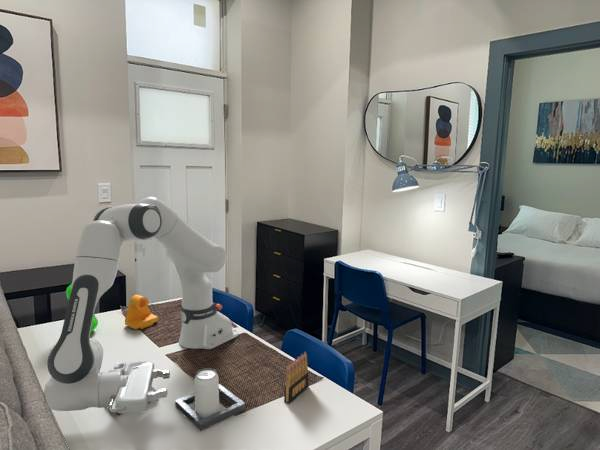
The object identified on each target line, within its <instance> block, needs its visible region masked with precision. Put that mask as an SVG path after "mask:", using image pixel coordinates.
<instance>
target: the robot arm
mask: <svg viewBox="0 0 600 450" xmlns="http://www.w3.org/2000/svg"><path fill="white" fill-rule="evenodd" d="M151 238H153V239H154V240H155V241H156V242H157V243H158V244H159V245H161V246H162V247H163V248H164V249H165V250H166V251H165V253H166V254H165V255H166V258H167V259H168V261H169V262H170V263H171V264H172V266H173V268H174V270H175V272H176V274H177V277H178V281H179V284H180V290H181V292H180V293H181V306H180V307H181V308H180V317H181V329H180V335H179V339H178V343H179V346H181V347H184V348H187V349H205V350H211V349H214V348H216V347H218V346H220V345H222V344H224V343H226V342H229V341H231V340H232V339H234V338H237V337H238V336H239V331H238V330H237V329H236V328H235V327H234V326H233V324H232V320H231V319H230V318H229V317H227V316H226V315H224V314H223V313H221V312H220V311H221V310H222V309H223V305H222V304H220V303H215V302H213V285H212V282H211V280H210V279H209V278H208V276H207V275H206V274H205V273H218V272H221V270H222V269H223V268H224V267H225V265H226V263H227V252H226V250H225V248H224V247H222V245H219V244H217V243H215V242H214V241H211V239H209V238H207V237H206V236H204V234H202V233H200V232H199V231H197V230H195V228H193V227H192V226H190V225H189V224H188V223H187V222H186V221H184V219H183V218H182V217H180V216H179V215H178V213H177V212H176V211H175V210H173V209H172V207H170V206H169V205H168V204H166V203H165V202H163V201H162V200H160V199H158V198H157V197H154V196H147V197H144V198H141V199H140V201H138V202H137V203H127V204H125V203H124V204H121V205H117V206H108V207H106V208H103V209H101V210H99V211H98V212H96V215H95V216H94V218H93V220H92V221H90V222H89V223H87V224H86V225H85V226H84V228H83V230H82V232H81V236H80V238H79V242H78V244H77V249H76V252H75V258H74V259H75V260H74V265H73V271H74V272H72V281H71V284H72V288H71V294H70V298H69V300H68V304H67V306H66V307H67V308H66V310H65V311H66V312H65V316H64V321H63V326H62V329H61V333H60V336H59V338H58V340H57V342H56V344H55V345H54V346H53V348H52V349H51V351H50V353H49V355H48V358H47V363H46V365H47V370H48V373H49V374H50V378H49V379H48V380H47V381H46V382H45V384H44V385H45V387H44V389H43V390H44V393H43V394H44V400H46V401H47V403H48V405H49V406H48V405H47V406H48V408H49V407H50V408H49V409H50V410H52V411H56V412H57V411H58V412H74V411H83V410H86V409H90V408H97V409H100V408H101V409H103V408H107V410H109V411H110V412H112V413H115V412H118V413H120V414H123V415H129V414H130V415H133V414H143V413H145V412H146V411H147V409H148V405H149V404H148V402H153V401H155V400H158V401H159V399H164V398H167V397H168V389H167V388H165V387H164V388H160V389H159V390H156V391H157V392H154V393H153V392H150V391H151V387H153V383H154V379H158V378H162V379H163V380H166V379H168V380H169V379H170V377H171V371H170V370H169V369H168V370H163V369H160V368H155V363H154V362H152V361H147V360H145V361H144V360H143V361H133V362H128V363H126V362H125V361H121V362H117V364H115V366H113V367H112V368H111V369H109V370H108V371H101V367H102V362H103V357H104V348H103V346H102V344H101V343H100V342H99V341H98V340H96V339H94V338H92V337H90V336H91V333H92V332H91V327H92V322H93V317H94V313H95V311H96V307H97V304H98V302H99V301H100V298H101V297H102V296H103V295H104V294H105V293H106V292H107V291H108V290H109V289H110V288H111V287H112V286H113V284H114V282H115V279H116V276H117V273H118V269H119V263H120V254H121V246H122V244H123V243H124V242H132V241H138V240H139V241H140V240H147V239H151ZM90 332H91V333H90ZM46 401H45V402H46ZM155 402H156V401H155ZM47 403H46V404H47ZM153 403H154V402H153Z"/></svg>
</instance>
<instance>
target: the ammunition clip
mask: <svg viewBox="0 0 600 450" xmlns="http://www.w3.org/2000/svg"><path fill="white" fill-rule="evenodd" d="M308 365H309V364H308V355H307V352H306V351H304V352H303V353H301V355H300V356H297V358H295V359H294V361H293V360H292V361H291V362H290V363H288V364H287V366H286V367H287V368H286V376H285V385H284V392H283V393H284V395H283V396H284V399H283V400H284V401H283V402H284V403H286V404H292V403H293V402H294V401H295V400H296V399H297V398H298V397H299V396H300V395H302V394H303V393H304V392H305V391H306V390H308V388H309V372H308V369H309V368H308Z"/></svg>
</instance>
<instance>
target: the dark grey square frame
mask: <svg viewBox="0 0 600 450" xmlns="http://www.w3.org/2000/svg"><path fill="white" fill-rule="evenodd" d="M219 397H221V398H223V399H224V400H226V402H228V403H229V404H230V405H229V406H228V407H226V408H223V409H222V410H221V409H220V410H219V412H217V413H215V414H213V415H211V416H209V417H206V418H204V419H202V418H201V417H200V416H199V415H198V414H197V413H196V412H195V410H194V409H192V408H191V406H189V405H191V404H195V391H194V392H192V393H189V394H188V395H185V396H183V397H180V398H178V399H176V400H175V408H176V409H178V411H179V412H180V413H181V414H182V415H184V417H185V418H187V419H188V421H189V422H191V423H192V425H193V426H195V427H196V428H197V429H198V430H199V431H200V432H203V431H204V430H206V429H208V428H211V427H212V426H215V425H216V424H218V423H220V422H223V421H225V420H227V419H229V418H231V417H233V416H235V415H237V414H239V413H240V412H243V411H245V410H246V402H244V401H243V400H241V399H240V398H239V397H237V395H235V394H234V393H232V392H231V391H230V390H229V389H227V388H226V387H224V386H223V385H222V384H220V383H219Z"/></svg>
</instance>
